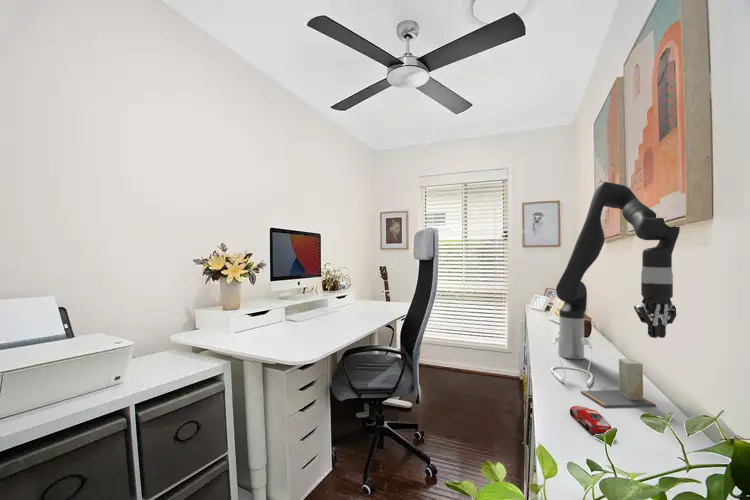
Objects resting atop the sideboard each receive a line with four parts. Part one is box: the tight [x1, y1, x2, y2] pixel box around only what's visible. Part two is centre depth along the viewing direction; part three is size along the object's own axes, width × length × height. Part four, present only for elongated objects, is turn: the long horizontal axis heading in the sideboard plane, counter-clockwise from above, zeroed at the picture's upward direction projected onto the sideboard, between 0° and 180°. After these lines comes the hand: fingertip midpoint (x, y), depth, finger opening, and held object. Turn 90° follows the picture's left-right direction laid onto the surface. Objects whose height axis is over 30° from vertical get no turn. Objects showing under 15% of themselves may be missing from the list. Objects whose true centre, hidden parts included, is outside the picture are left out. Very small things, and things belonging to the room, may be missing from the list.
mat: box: [580, 389, 656, 408], centre depth 103 cm, size 10×16×1 cm, turn 93°
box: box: [618, 358, 644, 400], centre depth 103 cm, size 5×4×11 cm
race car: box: [569, 405, 612, 435], centre depth 88 cm, size 13×5×4 cm, turn 175°
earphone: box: [550, 334, 594, 387], centre depth 122 cm, size 14×17×18 cm
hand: (656, 337), depth 104 cm, fingers closed
